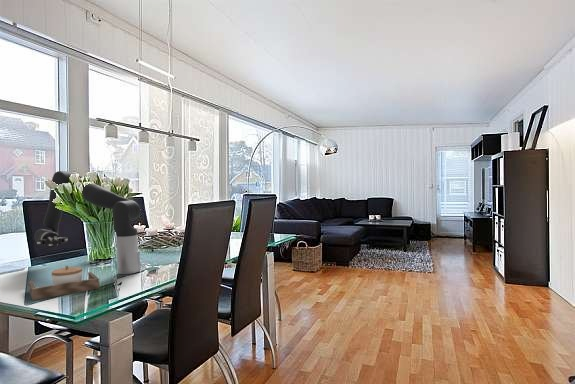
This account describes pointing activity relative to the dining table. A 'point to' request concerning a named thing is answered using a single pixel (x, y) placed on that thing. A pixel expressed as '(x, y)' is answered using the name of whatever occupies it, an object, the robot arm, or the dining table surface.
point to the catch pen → (64, 287)
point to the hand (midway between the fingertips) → (55, 242)
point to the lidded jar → (66, 275)
